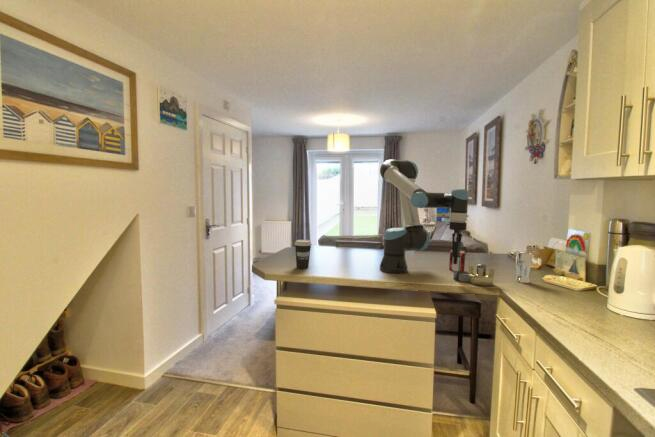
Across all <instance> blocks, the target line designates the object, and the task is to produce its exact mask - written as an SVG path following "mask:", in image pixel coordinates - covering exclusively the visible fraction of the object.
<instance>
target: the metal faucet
mask: <svg viewBox="0 0 655 437" xmlns="http://www.w3.org/2000/svg"><path fill="white" fill-rule="evenodd" d="M460 255H462V253H461V252H460ZM460 267H461V257H459V267H458V271H453V278H452V279H453V280H457V281H464V282H465V281H466V282H468V283H469V284H472V285H476V286H481V287H491V286H492V287H493V286H494V279H495V278H494V277H495V267H489V270H488V271H489V273H487V264H484V263H477V264H476V271H474V269H475V266H474V264H469V265H468V273H462V272H460Z"/></svg>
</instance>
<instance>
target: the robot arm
mask: <svg viewBox="0 0 655 437" xmlns="http://www.w3.org/2000/svg"><path fill="white" fill-rule="evenodd" d="M379 168H380V169H379V174H380V177H381V178H382V180H384V181H385V182H387V183H391V184H392V185H393V186H395V188H397V189H398V191H399V198H400V203H401V204H400V205H401V210H402V215H403V223H404V226H403V227H391V228H387V229H386V230H385V231H384V236H383V256H382V259H381V262H380V264H379V271H381V272H385V273H388V274H389V273H391V274H403V273H404V274H405V273H408V271H409V270H408V264H407V260H406V252H410V251H417V252H419V251H423V250H426V249H427V248H428V246H429V244H430V242H431V236H430V235H431V234H430V233H429V231H428V230H426V229H425V227H424V224H422V223H421V222H420V215H419V210H418V209H450V211H449V221H450V222H449V230H453V233H452V234H451V235H452V236H451V237H452V238H451V239H452V243H451V244H452V249H451V250H452V255H451V257H453V260H452V270H454V271H458V267H459V257H461V255H460V251H461V247H462V246H461V244H462V238H463V233H462V231H467V220H468V219H467V218H469V214H468V205H469V191H468V189H465V188H463V189H459V188H456V189H455V188H454V189H452V190H451V192H428V191H426V190H424V189H423V188H422V187H420V186H419V185H418V184H417V183H416V179H417V178H418V174H419V169H418V166H417V164H416V163H415V162H413V161H411V160H405V159H404V160H402V159H400V160H399V159H393V158H392V159H386V160H385V161H383V163H382V164H381V165H380V167H379ZM454 271H453V272H454Z"/></svg>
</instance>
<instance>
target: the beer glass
mask: <svg viewBox="0 0 655 437" xmlns="http://www.w3.org/2000/svg"><path fill="white" fill-rule="evenodd" d="M515 255H516V256H515V269H516V276H515V282H517V283H521V284H529V283H530V278H529V277H530V271H531V268H532V263H533V252H530V251H524V250H517V252H516V254H515Z"/></svg>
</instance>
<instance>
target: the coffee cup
mask: <svg viewBox="0 0 655 437" xmlns="http://www.w3.org/2000/svg"><path fill="white" fill-rule="evenodd" d="M311 246H312V242H311V240H309V239H296V240H295V242H294V248H295V264H296V266H295V267H296V269H299V270H305V269H306V270H307V269H309V264H310V256H311V248H312V247H311Z"/></svg>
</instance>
